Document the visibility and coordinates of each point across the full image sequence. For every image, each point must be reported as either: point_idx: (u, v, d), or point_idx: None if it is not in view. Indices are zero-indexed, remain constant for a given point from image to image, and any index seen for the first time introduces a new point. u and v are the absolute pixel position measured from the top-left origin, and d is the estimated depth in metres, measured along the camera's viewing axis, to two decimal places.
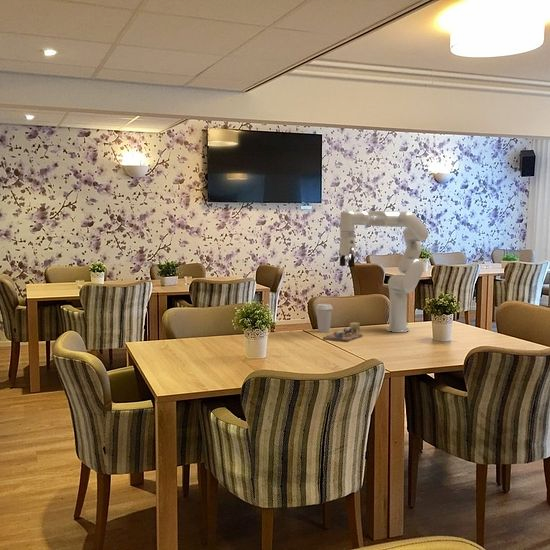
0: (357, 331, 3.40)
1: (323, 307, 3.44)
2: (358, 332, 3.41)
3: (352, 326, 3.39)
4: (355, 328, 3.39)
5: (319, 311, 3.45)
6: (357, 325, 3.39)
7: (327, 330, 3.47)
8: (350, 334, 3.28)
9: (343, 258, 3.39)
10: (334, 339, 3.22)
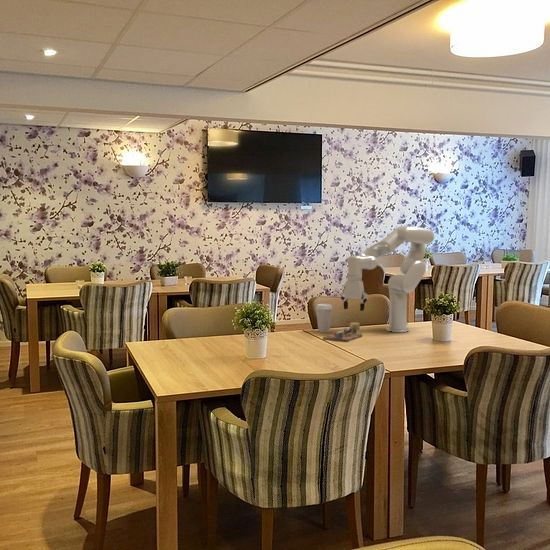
0: (357, 331, 3.40)
1: (323, 307, 3.44)
2: (358, 332, 3.41)
3: (352, 326, 3.39)
4: (355, 328, 3.39)
5: (319, 311, 3.45)
6: (357, 325, 3.39)
7: (327, 330, 3.47)
8: (350, 334, 3.28)
9: None
10: (334, 339, 3.22)
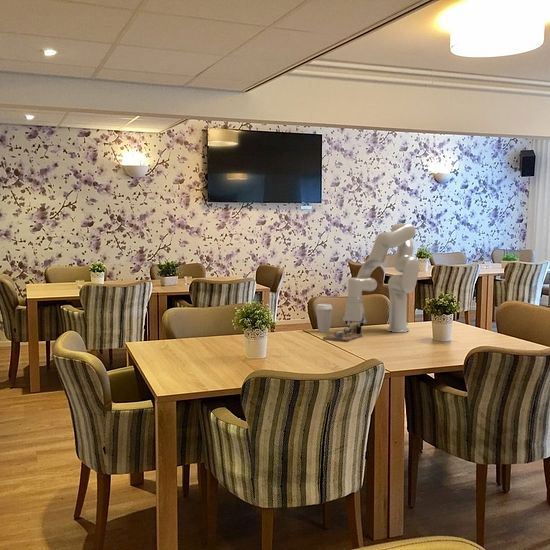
0: None
1: (323, 307, 3.44)
2: None
3: (352, 326, 3.39)
4: (355, 328, 3.39)
5: (319, 311, 3.45)
6: (357, 325, 3.39)
7: (327, 330, 3.47)
8: (350, 334, 3.28)
9: None
10: (334, 339, 3.22)
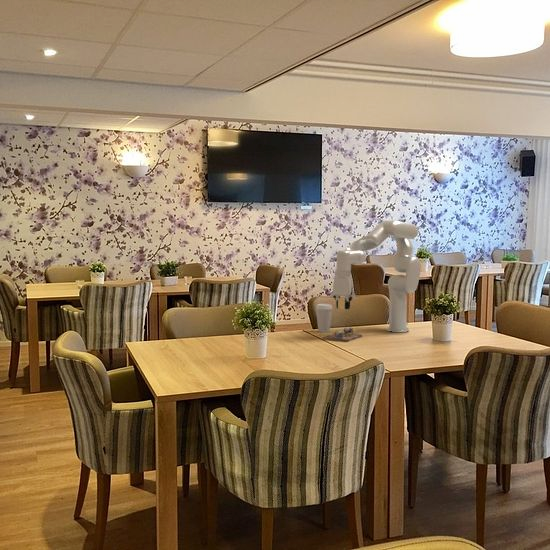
0: None
1: (323, 307, 3.44)
2: None
3: (340, 300, 3.27)
4: (343, 303, 3.26)
5: (319, 311, 3.45)
6: None
7: (327, 330, 3.47)
8: (350, 334, 3.28)
9: None
10: (334, 339, 3.22)
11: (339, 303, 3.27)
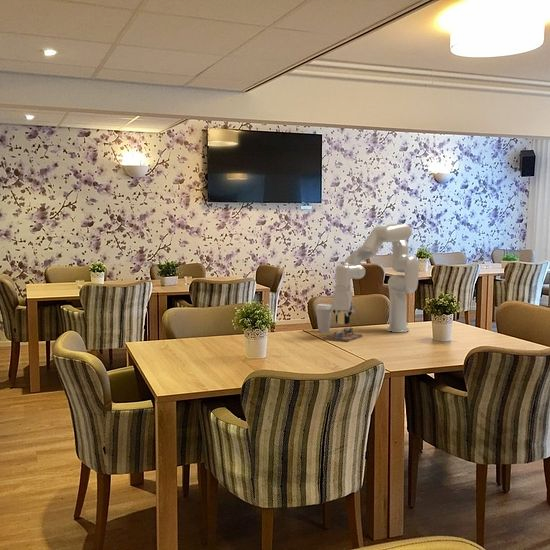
0: None
1: (323, 307, 3.44)
2: None
3: (340, 315, 3.27)
4: (343, 317, 3.26)
5: (319, 311, 3.45)
6: (345, 314, 3.27)
7: (327, 330, 3.47)
8: (350, 334, 3.28)
9: None
10: (334, 339, 3.22)
11: (339, 318, 3.28)
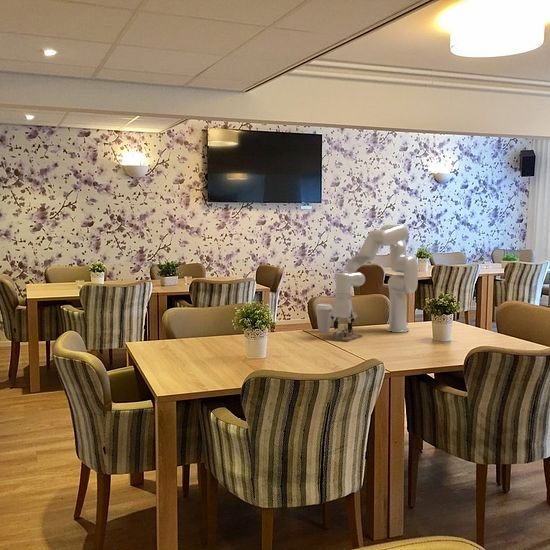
0: (345, 333, 3.28)
1: (323, 307, 3.44)
2: None
3: (340, 327, 3.28)
4: (343, 329, 3.27)
5: (319, 311, 3.45)
6: (345, 326, 3.27)
7: (327, 330, 3.47)
8: (350, 334, 3.28)
9: None
10: (334, 339, 3.22)
11: (339, 330, 3.28)
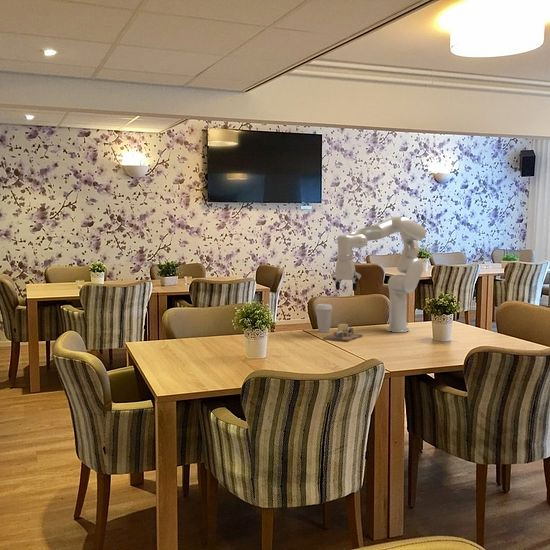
0: (345, 333, 3.28)
1: (323, 307, 3.44)
2: None
3: (340, 327, 3.28)
4: (343, 329, 3.27)
5: (319, 311, 3.45)
6: (345, 326, 3.27)
7: (327, 330, 3.47)
8: (350, 334, 3.28)
9: None
10: (334, 339, 3.22)
11: (339, 330, 3.28)
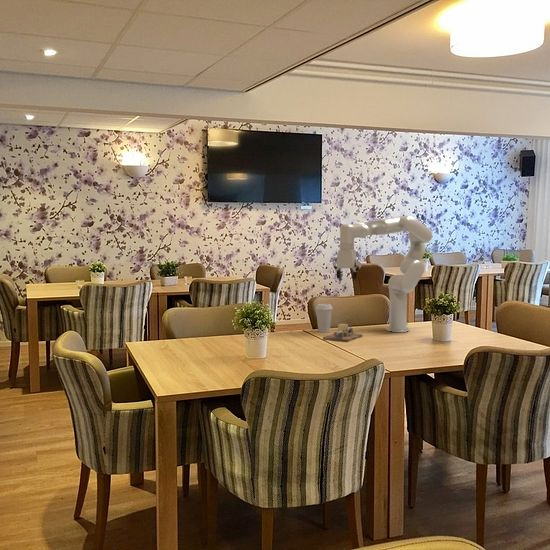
0: (345, 333, 3.28)
1: (323, 307, 3.44)
2: None
3: (340, 327, 3.28)
4: (343, 329, 3.27)
5: (319, 311, 3.45)
6: (345, 326, 3.27)
7: (327, 330, 3.47)
8: (350, 334, 3.28)
9: None
10: (334, 339, 3.22)
11: (339, 330, 3.28)
